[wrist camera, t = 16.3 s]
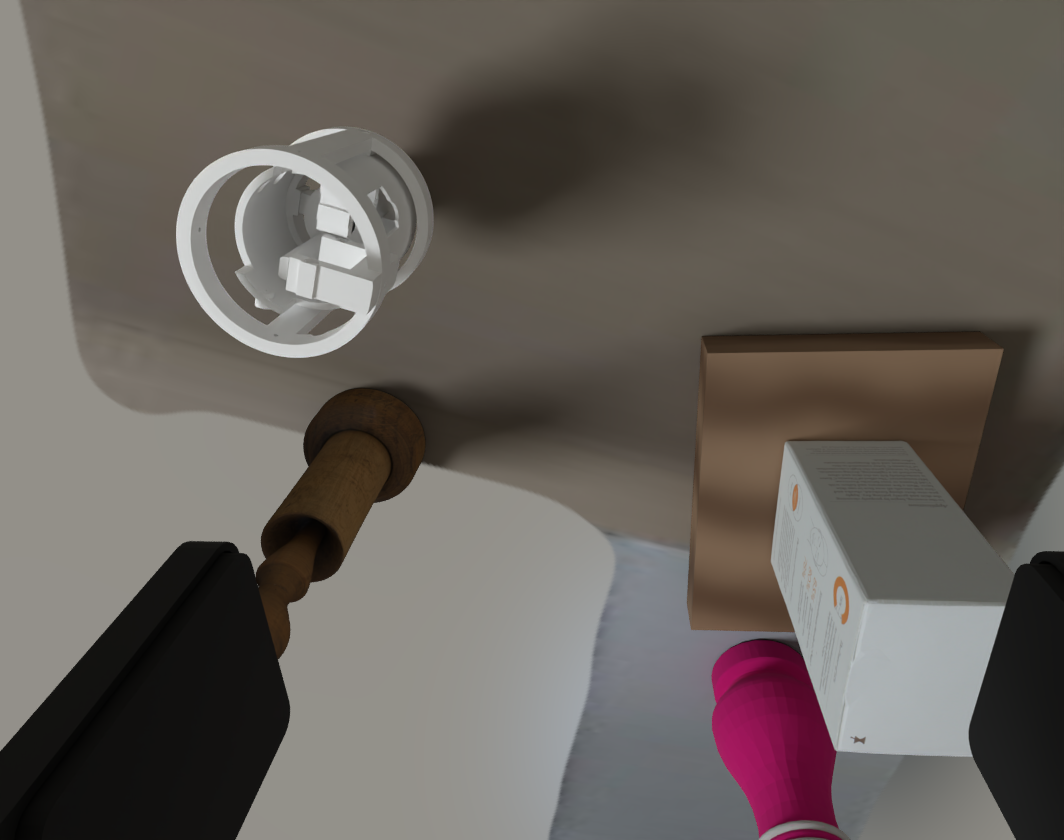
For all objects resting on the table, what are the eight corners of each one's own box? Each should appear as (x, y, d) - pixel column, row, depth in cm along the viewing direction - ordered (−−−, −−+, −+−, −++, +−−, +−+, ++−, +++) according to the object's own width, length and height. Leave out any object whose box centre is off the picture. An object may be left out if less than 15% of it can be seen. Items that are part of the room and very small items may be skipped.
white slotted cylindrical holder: (440, 277, 39) (353, 394, 25) (310, 238, 38) (153, 336, 25) (471, 141, 35) (390, 192, 22) (330, 98, 35) (161, 123, 22)
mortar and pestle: (415, 384, 42) (297, 589, 26) (434, 481, 44) (337, 722, 28) (304, 390, 42) (122, 593, 26) (329, 486, 45) (178, 722, 29)
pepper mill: (682, 683, 50) (725, 1031, 32) (748, 615, 47) (838, 960, 29) (767, 727, 51) (856, 1088, 33) (838, 664, 48) (977, 1024, 30)
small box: (883, 563, 41) (993, 763, 30) (768, 561, 42) (831, 756, 30) (910, 436, 38) (1046, 606, 26) (783, 436, 38) (861, 602, 27)
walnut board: (701, 336, 39) (707, 353, 37) (979, 331, 37) (1003, 348, 35) (686, 602, 47) (691, 629, 44) (916, 606, 45) (932, 635, 43)
